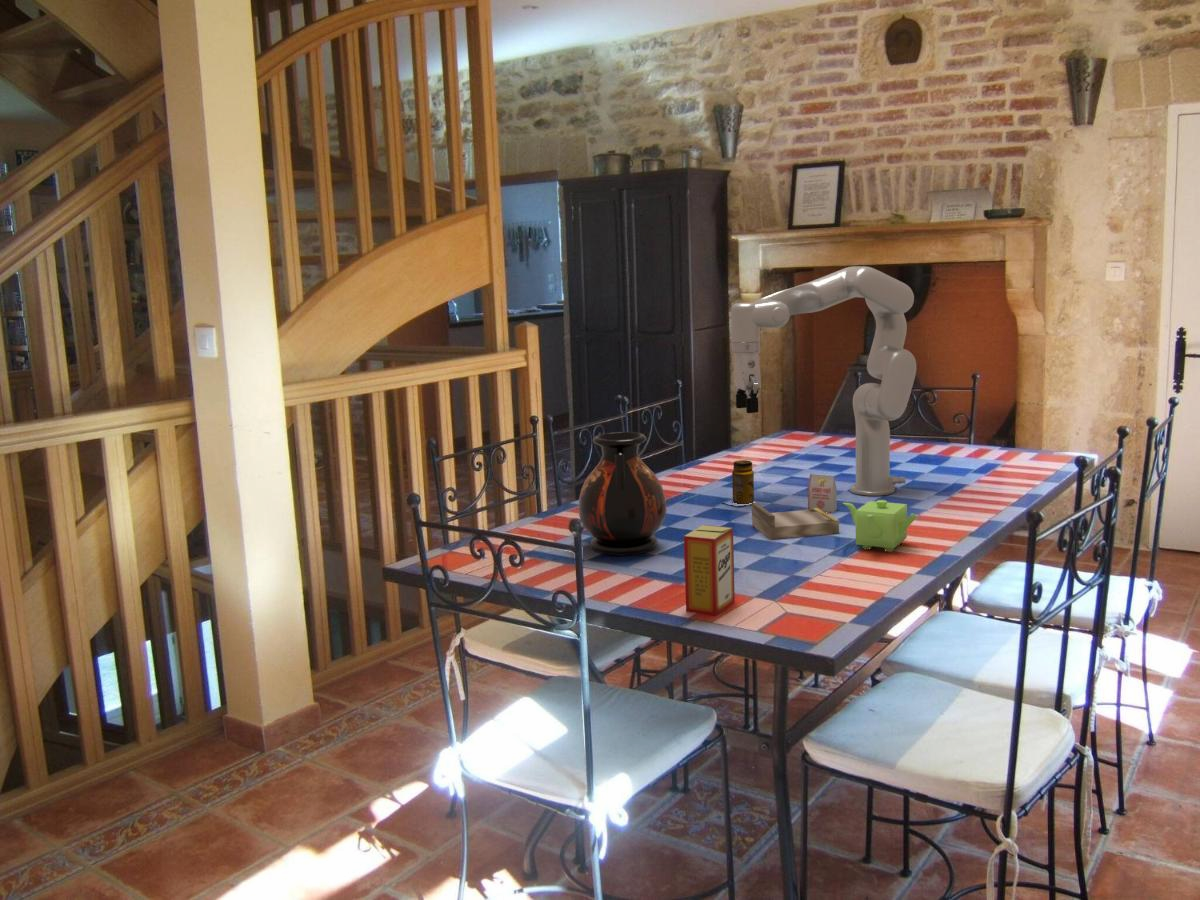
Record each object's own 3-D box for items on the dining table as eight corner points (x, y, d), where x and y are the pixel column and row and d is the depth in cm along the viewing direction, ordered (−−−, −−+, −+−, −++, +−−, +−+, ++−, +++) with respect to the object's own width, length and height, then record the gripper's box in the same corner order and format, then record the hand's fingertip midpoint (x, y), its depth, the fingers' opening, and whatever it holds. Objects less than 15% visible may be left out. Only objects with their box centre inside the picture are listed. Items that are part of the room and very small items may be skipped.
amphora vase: (582, 537, 268) (577, 430, 262) (666, 534, 267) (662, 427, 262) (578, 561, 246) (572, 445, 241) (669, 558, 246) (665, 442, 240)
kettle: (867, 558, 239) (867, 510, 237) (838, 542, 253) (838, 497, 251) (925, 550, 243) (926, 503, 241) (893, 536, 256) (893, 491, 254)
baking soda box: (715, 615, 206) (714, 537, 203) (686, 611, 209) (683, 534, 206) (734, 601, 214) (733, 525, 211) (705, 597, 217) (703, 523, 214)
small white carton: (812, 508, 287) (812, 472, 285) (836, 510, 284) (836, 474, 282) (808, 511, 284) (807, 475, 282) (831, 513, 281) (831, 477, 279)
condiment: (760, 503, 296) (759, 461, 294) (737, 508, 291) (737, 466, 289) (743, 498, 302) (742, 458, 300) (721, 503, 297) (720, 462, 295)
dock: (817, 519, 274) (817, 497, 273) (838, 533, 261) (838, 509, 260) (752, 525, 271) (751, 503, 270) (770, 539, 258) (770, 516, 257)
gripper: (768, 350, 276) (770, 413, 280) (749, 345, 293) (750, 405, 296) (741, 351, 275) (743, 415, 279) (723, 346, 292) (725, 407, 295)
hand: (747, 410), depth 287 cm, fingers open, 9 cm apart
